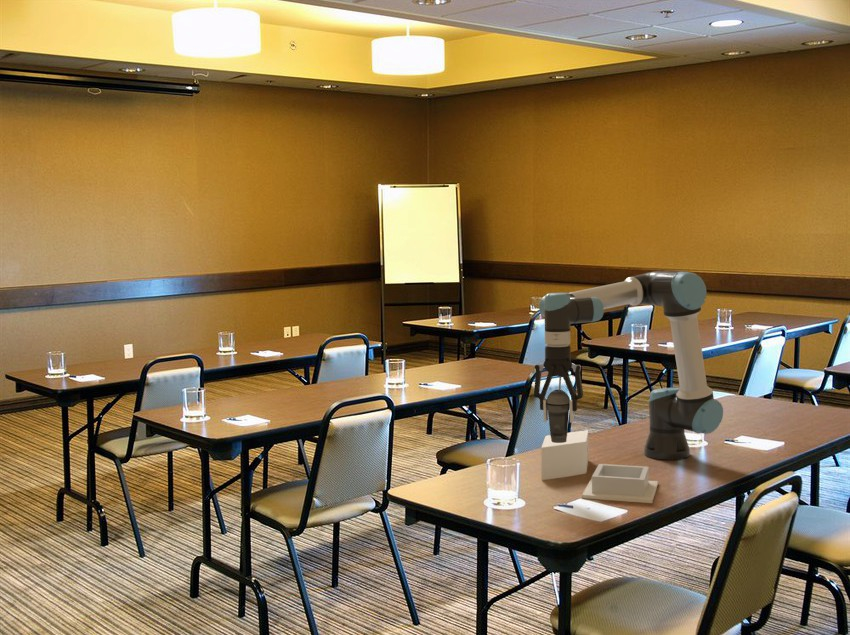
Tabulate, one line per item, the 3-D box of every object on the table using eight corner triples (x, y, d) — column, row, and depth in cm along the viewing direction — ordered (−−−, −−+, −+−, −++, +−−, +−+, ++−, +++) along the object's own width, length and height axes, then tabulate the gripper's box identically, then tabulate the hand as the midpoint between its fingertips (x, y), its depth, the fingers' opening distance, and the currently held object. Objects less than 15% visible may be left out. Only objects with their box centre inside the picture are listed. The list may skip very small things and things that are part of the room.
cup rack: (592, 480, 292) (592, 461, 292) (657, 484, 286) (657, 465, 286) (582, 498, 274) (582, 478, 273) (652, 503, 267) (652, 482, 267)
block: (608, 464, 312) (608, 432, 311) (562, 484, 289) (562, 450, 288) (568, 457, 321) (568, 427, 320) (521, 477, 298) (521, 444, 297)
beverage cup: (560, 437, 285) (559, 372, 283) (576, 441, 279) (575, 375, 277) (541, 440, 282) (540, 375, 280) (557, 445, 275) (556, 378, 273)
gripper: (521, 346, 277) (522, 422, 279) (589, 347, 271) (590, 425, 273) (527, 342, 284) (528, 417, 287) (593, 344, 278) (594, 419, 280)
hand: (558, 421), depth 280 cm, fingers closed on beverage cup, 7 cm apart
